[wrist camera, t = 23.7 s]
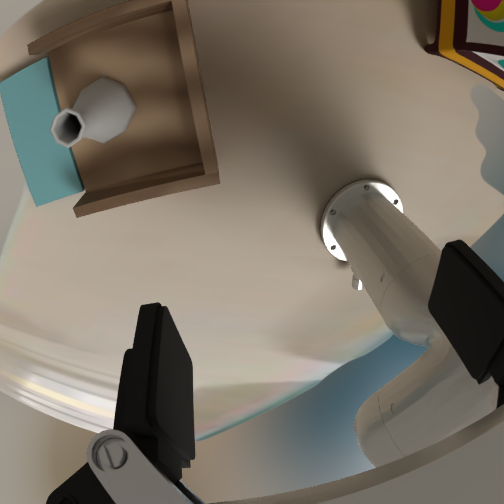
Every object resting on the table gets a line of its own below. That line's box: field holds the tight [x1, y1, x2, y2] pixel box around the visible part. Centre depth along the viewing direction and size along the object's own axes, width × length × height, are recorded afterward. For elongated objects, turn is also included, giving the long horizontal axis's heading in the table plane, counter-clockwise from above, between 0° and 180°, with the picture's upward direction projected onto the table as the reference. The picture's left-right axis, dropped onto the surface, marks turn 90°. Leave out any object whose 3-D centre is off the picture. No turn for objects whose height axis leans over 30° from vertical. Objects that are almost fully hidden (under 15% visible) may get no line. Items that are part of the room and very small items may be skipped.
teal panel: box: [0, 57, 85, 207], centre depth 28 cm, size 17×1×8 cm
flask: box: [50, 76, 137, 148], centre depth 24 cm, size 7×7×10 cm
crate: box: [28, 0, 220, 218], centre depth 27 cm, size 20×16×6 cm
